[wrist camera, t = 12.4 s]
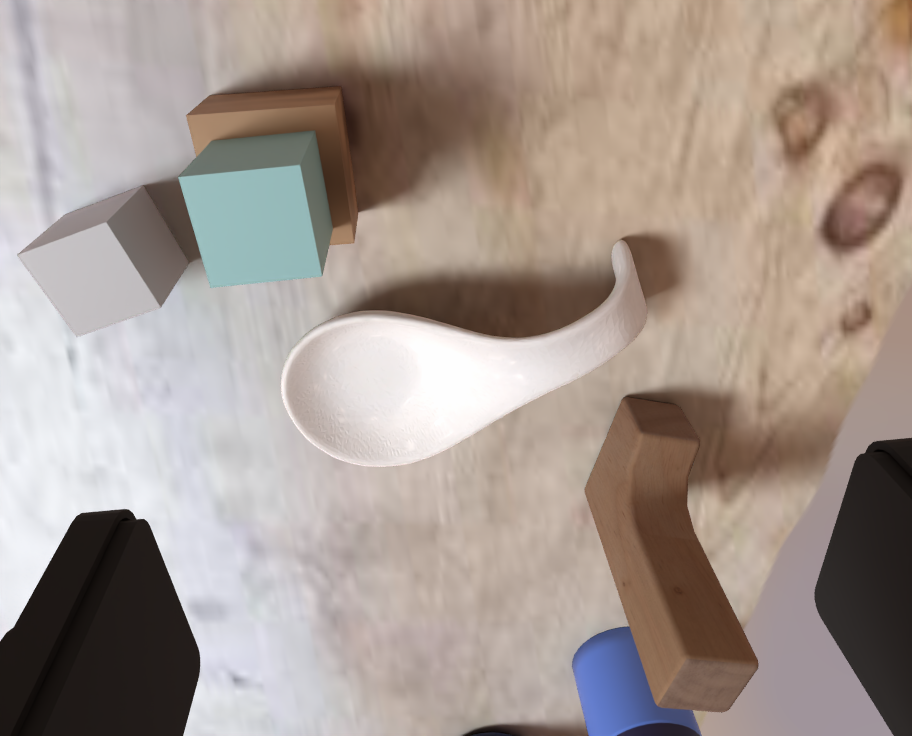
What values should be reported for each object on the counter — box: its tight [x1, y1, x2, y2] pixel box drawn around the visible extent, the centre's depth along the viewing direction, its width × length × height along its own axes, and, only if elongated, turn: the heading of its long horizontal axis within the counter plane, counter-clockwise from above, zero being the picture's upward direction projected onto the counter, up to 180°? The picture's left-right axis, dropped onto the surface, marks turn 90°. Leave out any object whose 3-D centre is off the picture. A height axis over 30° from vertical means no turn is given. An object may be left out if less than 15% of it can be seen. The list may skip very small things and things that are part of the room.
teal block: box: [178, 130, 333, 288], centre depth 33 cm, size 5×5×6 cm
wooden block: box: [585, 397, 758, 712], centre depth 44 cm, size 9×4×18 cm, turn 167°
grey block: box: [17, 185, 189, 337], centre depth 38 cm, size 5×5×6 cm
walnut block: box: [186, 86, 358, 245], centre depth 37 cm, size 7×7×5 cm
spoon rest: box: [281, 240, 647, 467], centre depth 43 cm, size 24×12×7 cm, turn 113°
